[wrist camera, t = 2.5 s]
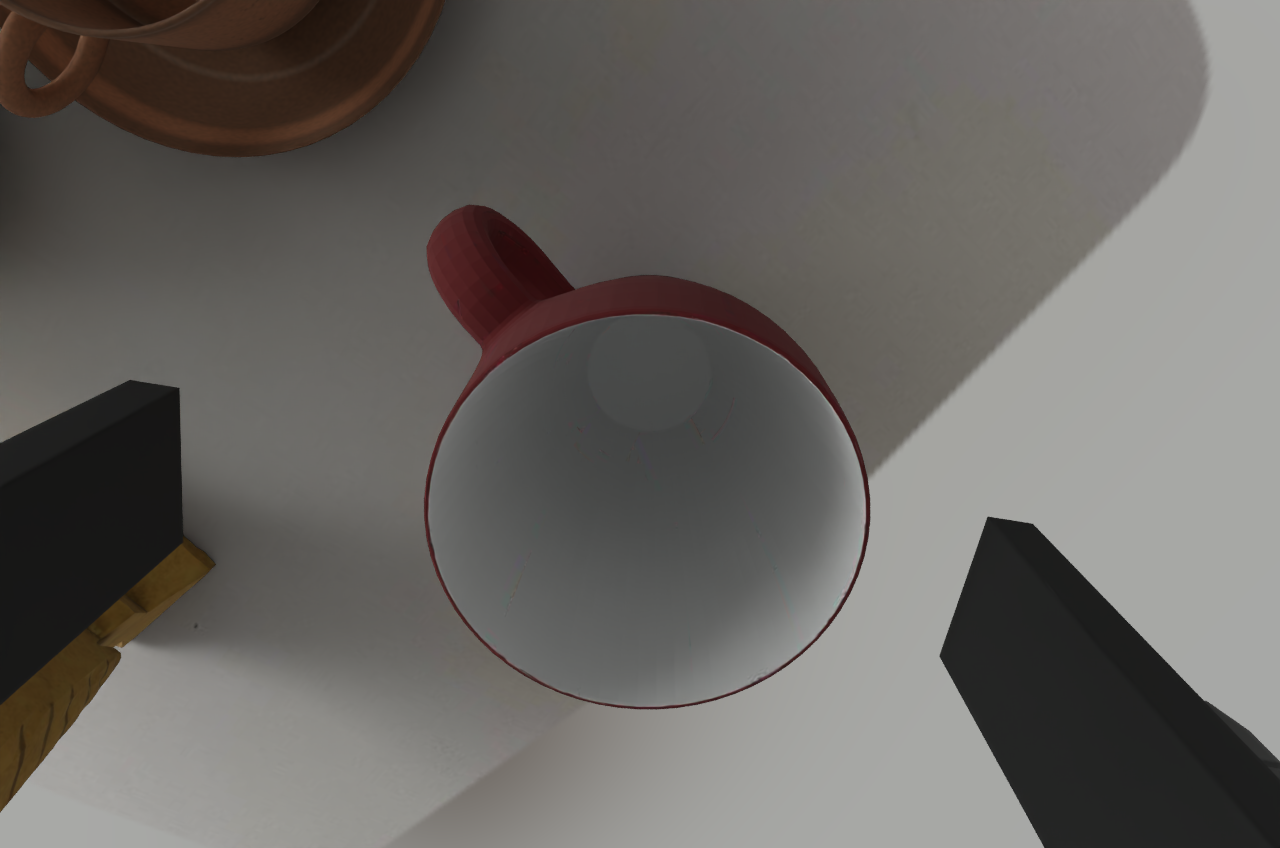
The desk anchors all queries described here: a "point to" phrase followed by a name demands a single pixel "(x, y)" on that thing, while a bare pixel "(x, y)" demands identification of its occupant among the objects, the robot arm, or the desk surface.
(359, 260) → the desk surface
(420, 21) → the cup and saucer
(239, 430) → the desk surface
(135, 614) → the figurine
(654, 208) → the desk surface
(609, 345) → the mug
